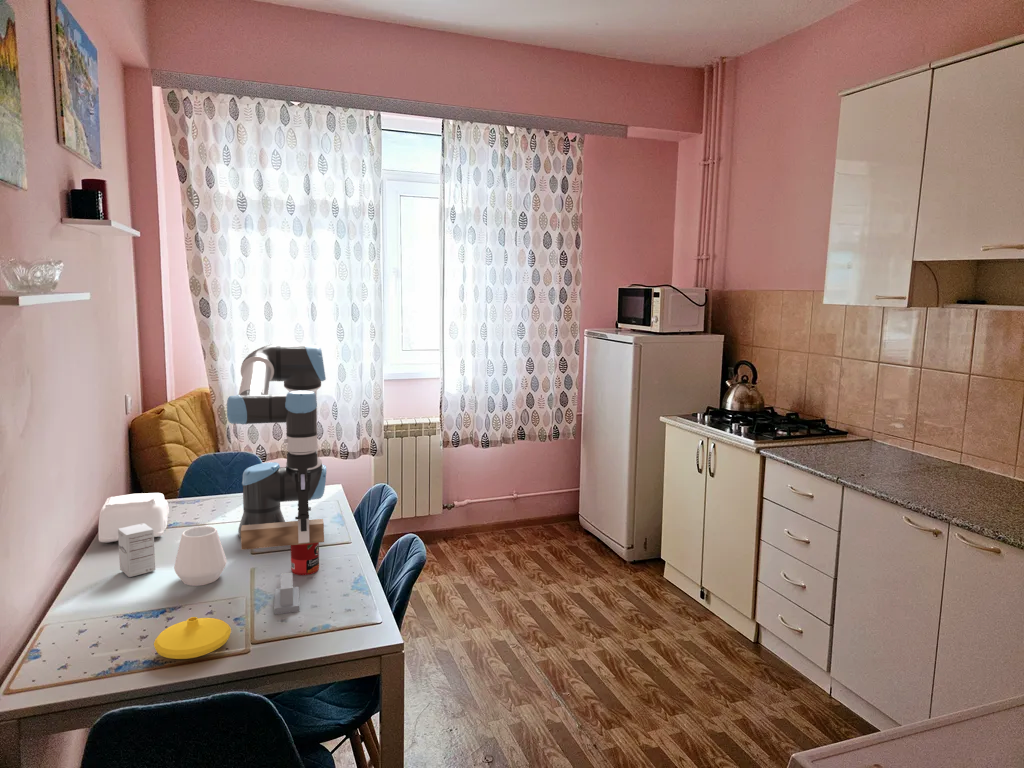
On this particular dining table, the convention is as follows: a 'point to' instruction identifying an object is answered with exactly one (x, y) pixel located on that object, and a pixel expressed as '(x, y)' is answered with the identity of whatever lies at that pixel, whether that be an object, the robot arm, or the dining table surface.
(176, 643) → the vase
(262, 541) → the slat
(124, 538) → the supplement box
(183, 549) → the white planter pot
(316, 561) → the canned food
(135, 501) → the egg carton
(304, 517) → the robot arm
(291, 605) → the ridge
